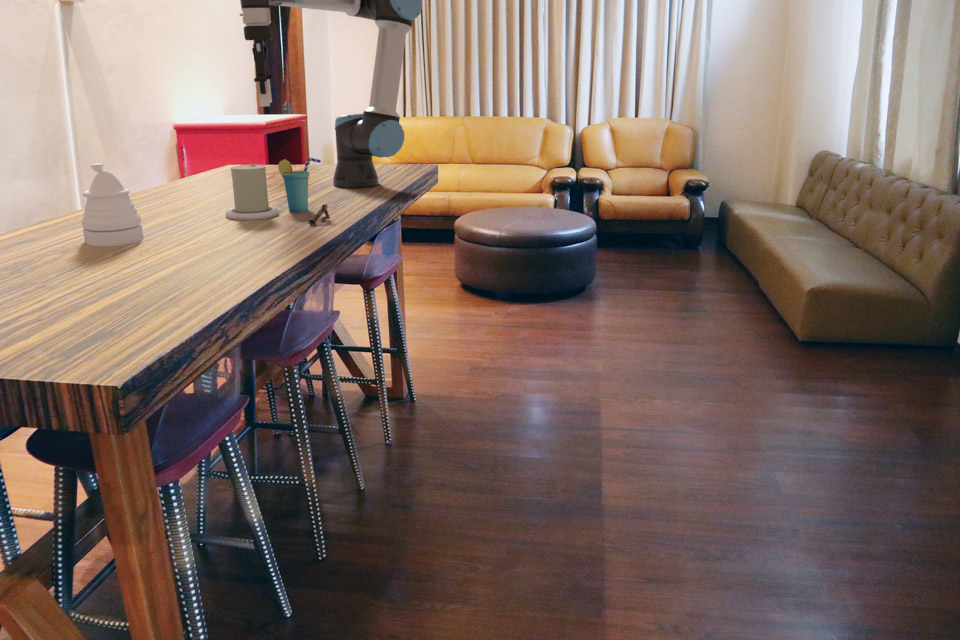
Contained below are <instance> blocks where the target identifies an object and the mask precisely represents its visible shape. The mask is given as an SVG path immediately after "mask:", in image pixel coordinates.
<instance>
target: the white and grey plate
mask: <svg viewBox="0 0 960 640" xmlns="http://www.w3.org/2000/svg"><path fill="white" fill-rule="evenodd" d="M279 214H280V213H279V207H277V206H274V205H269V209H268V210H265V211H260V212H237V211H235V206H233V207H230V208H228V209H225V218H226V219H228V220H234V221H236V220H237V221H256V220H257V221H258V220H266V219H270V218H275V217H278V215H279Z"/></svg>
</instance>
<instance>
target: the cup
mask: <svg viewBox="0 0 960 640" xmlns="http://www.w3.org/2000/svg"><path fill="white" fill-rule="evenodd" d="M310 162H314V163H321V162H322V160H321V159H317V158H314V157H308V158H307V159H306V161H305V163H304V164H305V165H304V168H303V170H293V166H292V164H291V162H290V161H288V160H287V159H286V158H285V159H282V160H280V161H279V162H278V170H279V171H278V172H279V174H280V176H282V179H283V183H284V187H285V193H286V200H287V205H288V211H290V212H291V213H304V212H308V209H309V176H310V171H308V168H309V164H310Z"/></svg>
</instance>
